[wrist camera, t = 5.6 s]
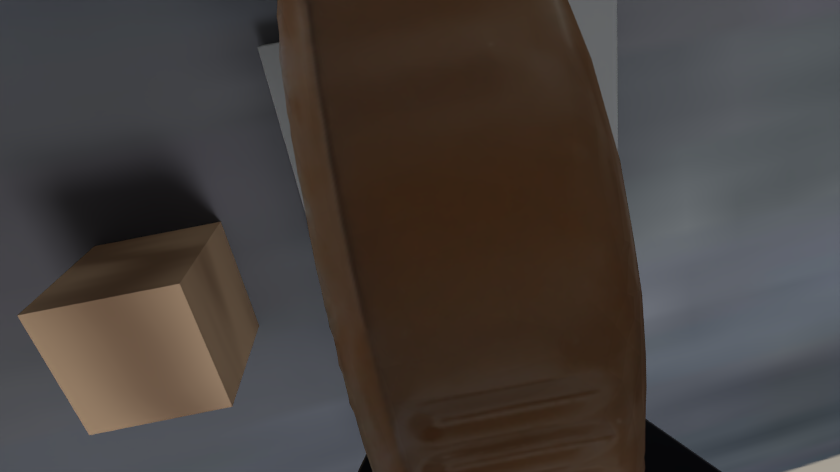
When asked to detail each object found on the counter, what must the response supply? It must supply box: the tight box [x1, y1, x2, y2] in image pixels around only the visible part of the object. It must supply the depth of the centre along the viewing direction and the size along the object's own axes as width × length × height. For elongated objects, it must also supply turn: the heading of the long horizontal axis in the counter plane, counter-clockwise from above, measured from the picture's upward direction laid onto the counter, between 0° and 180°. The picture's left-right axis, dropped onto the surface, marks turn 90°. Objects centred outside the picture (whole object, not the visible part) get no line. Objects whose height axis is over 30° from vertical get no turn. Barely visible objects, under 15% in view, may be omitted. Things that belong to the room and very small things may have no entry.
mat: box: [257, 0, 618, 214], centre depth 21 cm, size 12×19×1 cm, turn 10°
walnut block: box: [17, 222, 259, 435], centre depth 19 cm, size 5×5×5 cm
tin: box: [277, 0, 646, 472], centre depth 10 cm, size 15×3×8 cm, turn 11°
